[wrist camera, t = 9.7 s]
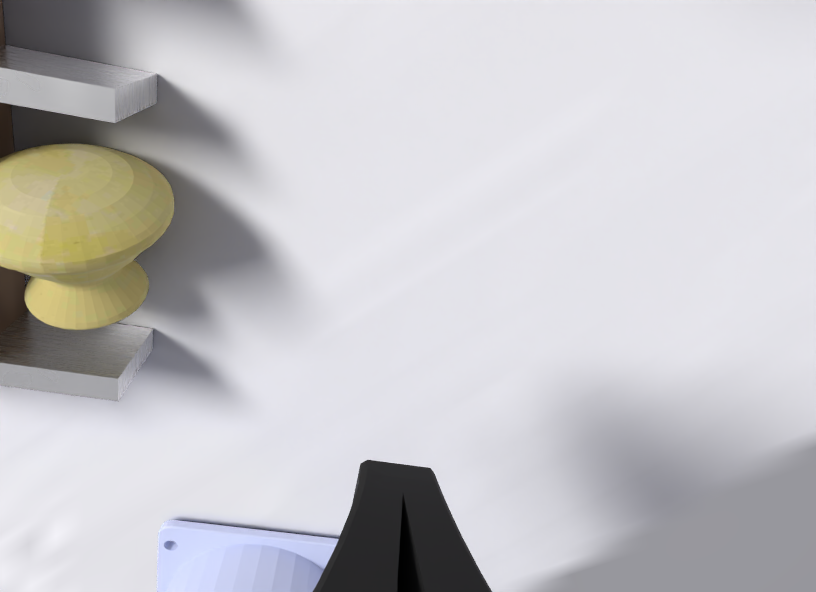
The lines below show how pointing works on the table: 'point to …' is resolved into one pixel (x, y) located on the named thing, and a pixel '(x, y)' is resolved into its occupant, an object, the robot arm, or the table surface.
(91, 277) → the knob
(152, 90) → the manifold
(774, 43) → the table surface
